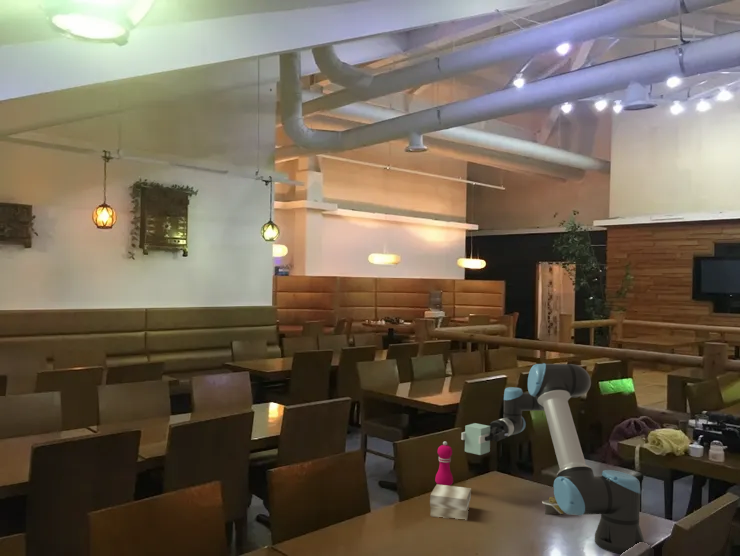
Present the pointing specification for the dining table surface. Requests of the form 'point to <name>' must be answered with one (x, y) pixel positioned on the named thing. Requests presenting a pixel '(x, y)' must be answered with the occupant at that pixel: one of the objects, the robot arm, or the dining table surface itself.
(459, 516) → the bottom block
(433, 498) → the top block
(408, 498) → the dining table surface
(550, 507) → the platform
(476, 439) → the sage block
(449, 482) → the pepper mill
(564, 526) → the dining table surface
